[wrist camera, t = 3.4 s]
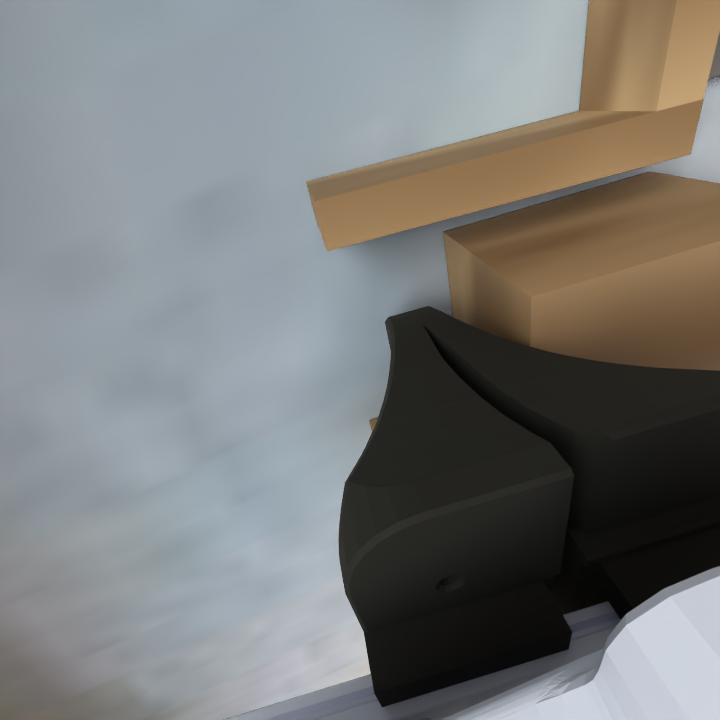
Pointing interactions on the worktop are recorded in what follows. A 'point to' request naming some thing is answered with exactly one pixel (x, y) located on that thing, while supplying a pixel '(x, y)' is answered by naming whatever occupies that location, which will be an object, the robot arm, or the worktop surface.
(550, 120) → the trap lane
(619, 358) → the walnut block
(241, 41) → the worktop surface
